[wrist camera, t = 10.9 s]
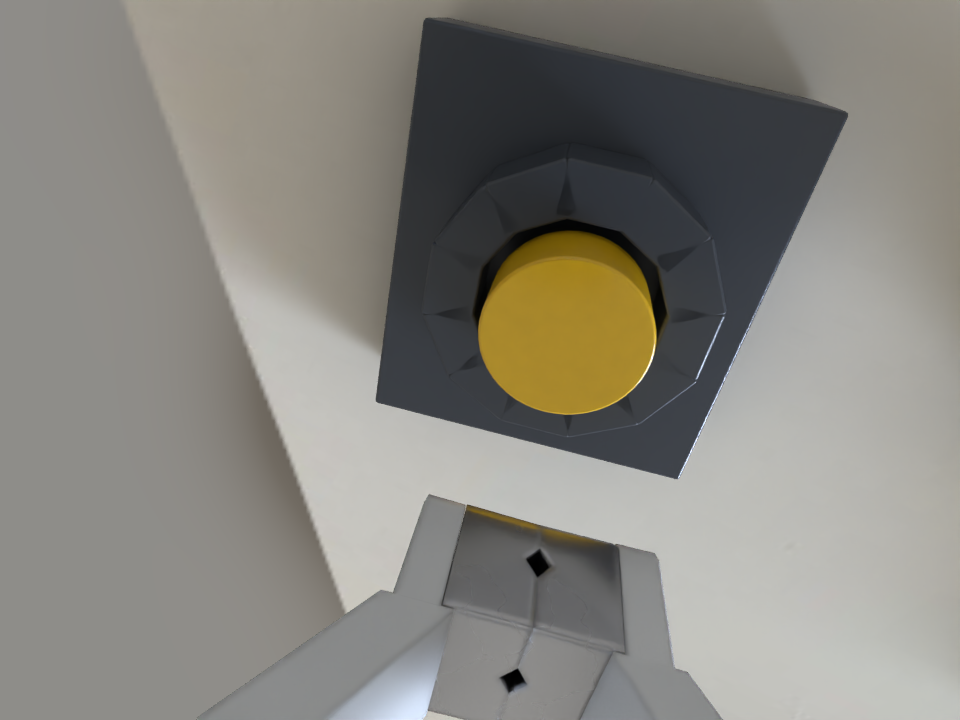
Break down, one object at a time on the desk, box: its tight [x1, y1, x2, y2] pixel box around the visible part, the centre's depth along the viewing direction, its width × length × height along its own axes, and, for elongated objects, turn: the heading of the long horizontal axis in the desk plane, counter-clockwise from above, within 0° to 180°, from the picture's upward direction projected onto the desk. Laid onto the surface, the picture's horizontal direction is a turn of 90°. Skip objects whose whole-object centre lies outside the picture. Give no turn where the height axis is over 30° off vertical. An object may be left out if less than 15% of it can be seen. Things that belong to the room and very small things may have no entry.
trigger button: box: [478, 230, 656, 415], centre depth 13 cm, size 4×4×2 cm
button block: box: [376, 18, 848, 479], centre depth 15 cm, size 10×9×4 cm
